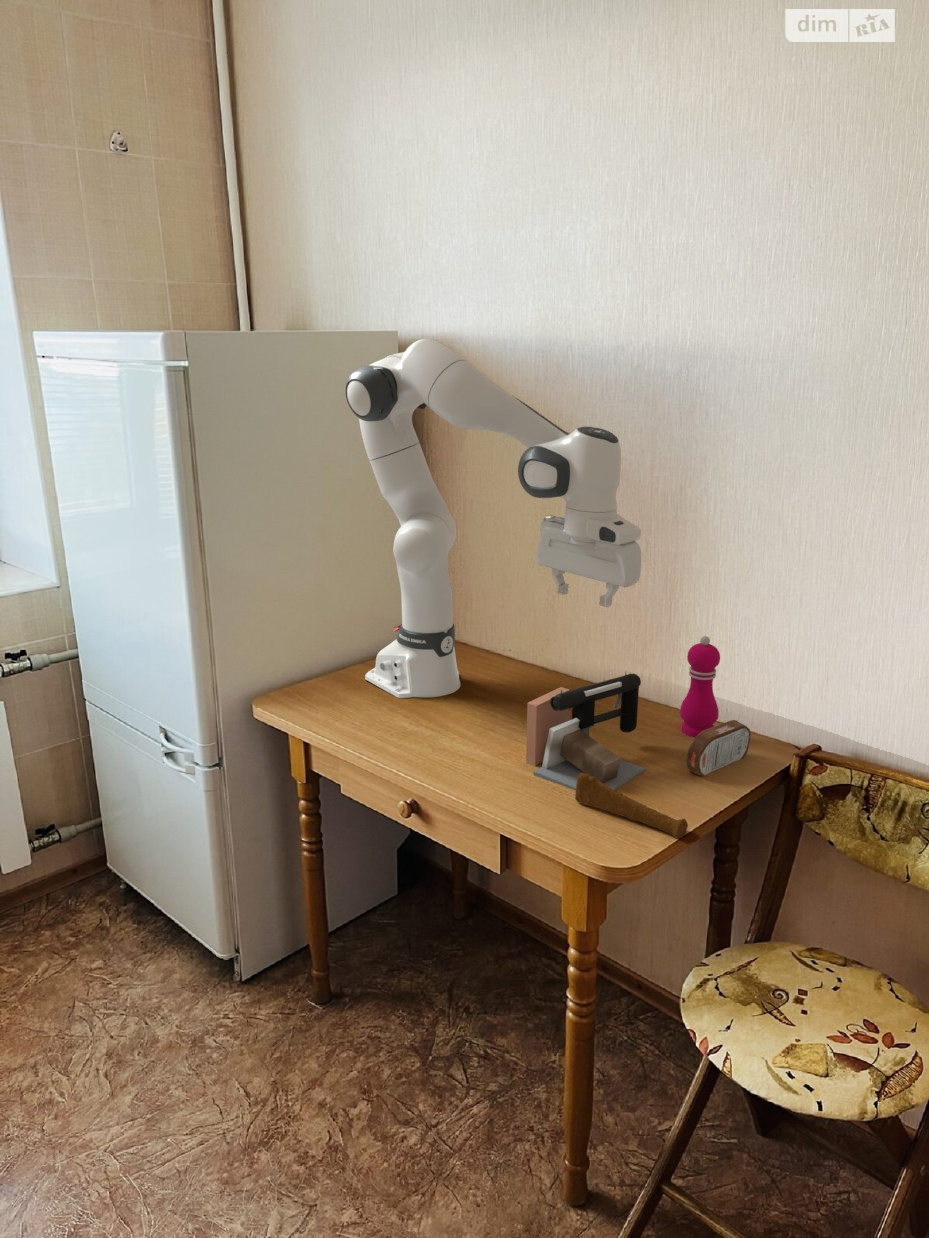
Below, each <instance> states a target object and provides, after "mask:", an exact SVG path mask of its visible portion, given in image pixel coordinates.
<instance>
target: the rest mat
mask: <svg viewBox="0 0 929 1238" xmlns="http://www.w3.org/2000/svg"><path fill="white" fill-rule="evenodd" d="M645 771H646V768H645V767H643V766H640V765H637V764H634V763H632V762H629V761H626V760H622V759H621V761H620V765H619V770H618V774H617V777H616V778H614V779H612V780H610V781H607V782H605V783H603V784H605V785H607V786H608V787H610V788H612V789H615V790H617V789H618V788H620V787H621V786H623V785H624V784H626V783H627V782H629V781H631V780H632V779H633V778H635V777H637V776H638V775H640V774H642V773H643V772H645ZM579 773H585V772H583V771H582V770H580V769H579V768H578V767H576V766H575V765H573V764H572V763H571V762H569V761H568V760H565V761H563V762H561V763H559V764H556V765H554V766H552V767H550V768H547V769H545V768H544V767H542V766H541V767H539V768H537V769H535V770H534V771H533V776H535V777H538V778H539V779H540V778H541V779H544V780H546V781H549V782H552V783H553V784H557V785H559V786H562V787H565V788H568V789H571V790H573V791H576V785H577V780H578V775H579ZM585 774H586V773H585Z"/></svg>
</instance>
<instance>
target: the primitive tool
mask: <svg viewBox="0 0 929 1238" xmlns="http://www.w3.org/2000/svg"><path fill="white" fill-rule="evenodd" d="M574 796H575V801H576V802H577V803H579V804H582V805H584V806H589V807H592V808H596V809H597V808H598V809H600V810H604V811H607V812H610V813H611V814H615V815H616V816H617V815H618V816H620V817H625V818H628V819H629V820H631V821H632V822H639V823H642V824H645V825H648V826H649V827H652V828H654V829H658V830H660V831H662V832H664V833H666V834H669V835H671V836H673V838H674V839H680V838H683V837H684V835H686V833H687V829H688V826H689V825H688V821H687V820H686V819H685V818H681V819H677V818H676V819H675V818H673V817H670V816H669V815H667V814H664V813H661V812H659V811H657V810H656V809H654V808H650V807H648V806H647V805H646V804H643V803H642V802H639V801H637V800H635V799H633V798H631V797H630V796H629V797H628V796H627V795H625V794H624V793H623V792H620V791H619V790H617V789H612V788H610V787H608V786H607V785H605V784H603V783H601V782H600V781H598V780H596V779H595V777H591V776H590V775H589V774H585V773H579V775H578V780H577V785H576V790H575V794H574Z"/></svg>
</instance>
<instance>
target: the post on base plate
mask: <svg viewBox="0 0 929 1238" xmlns="http://www.w3.org/2000/svg"><path fill="white" fill-rule="evenodd" d="M579 722H580V720H578V719H577V718H574V719H572V718H571V719H569V721H567V722H565V723H562V724H560V725H557V726H555V727H552V728H550V729H549V734H548V739H547V744H546V749H545V754H544V759H543V762H542V763H541V764H542V765H541V767H544V768H545V769H547V768H550V767H552V766H554V765H556V764H559V763H561V762H563V761H565V760H568V761H569V762H571V763H572V764H573V765H575V766H576V767H578V768H579V769H580V770H582V771H583V772H585V773H586V774H589V775H590V776H591V777H595V779H596V780H598V781H600V782H601V783H605V782H607V781H610V780H612V779H614V778H616V777H617V774H618V770H619V765H620V761H621V760H622V757H620V756H619V755H617V754H616V753H614V752H613V751H612V750H610V749H608V748H607V747H605V746H604V745H603V744H601V743H599V742H598V741H596V740H595V739H594V738H593V737H590V735H589V736H588V735H586V734H585V733H583V732H582V731H580V728H578V727H579Z"/></svg>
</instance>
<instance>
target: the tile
mask: <svg viewBox="0 0 929 1238" xmlns="http://www.w3.org/2000/svg"><path fill="white" fill-rule="evenodd" d="M561 690H562V693H563V692H567V691H571V690H570V688H565V687H563V686H560V687H557V688H556V689H554V690H552V691H549V692H548V693H545V694H543V695H541V696H539V697H537V698H535V699H532V700H531V701H528V702H527V703H526V704H527V711H526V750H525V751H526V753H525V755H526V756H525V762H526V764H528V765H531V766H533V767H536V766H538V765H539V764H542V763H543V759H544V754H545V749H546V744H547V739H548V734H549V729H550V728H552V727H555V726H557V725H560V724H562V723H565V722H567V721H570V719H569V718H570V709H566V710H562V711H560V710H558V711H555V710H553V709H552V707H551V704H550V699H551V698H552V697H554V696H556V695H557V694H560V693H561Z"/></svg>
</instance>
